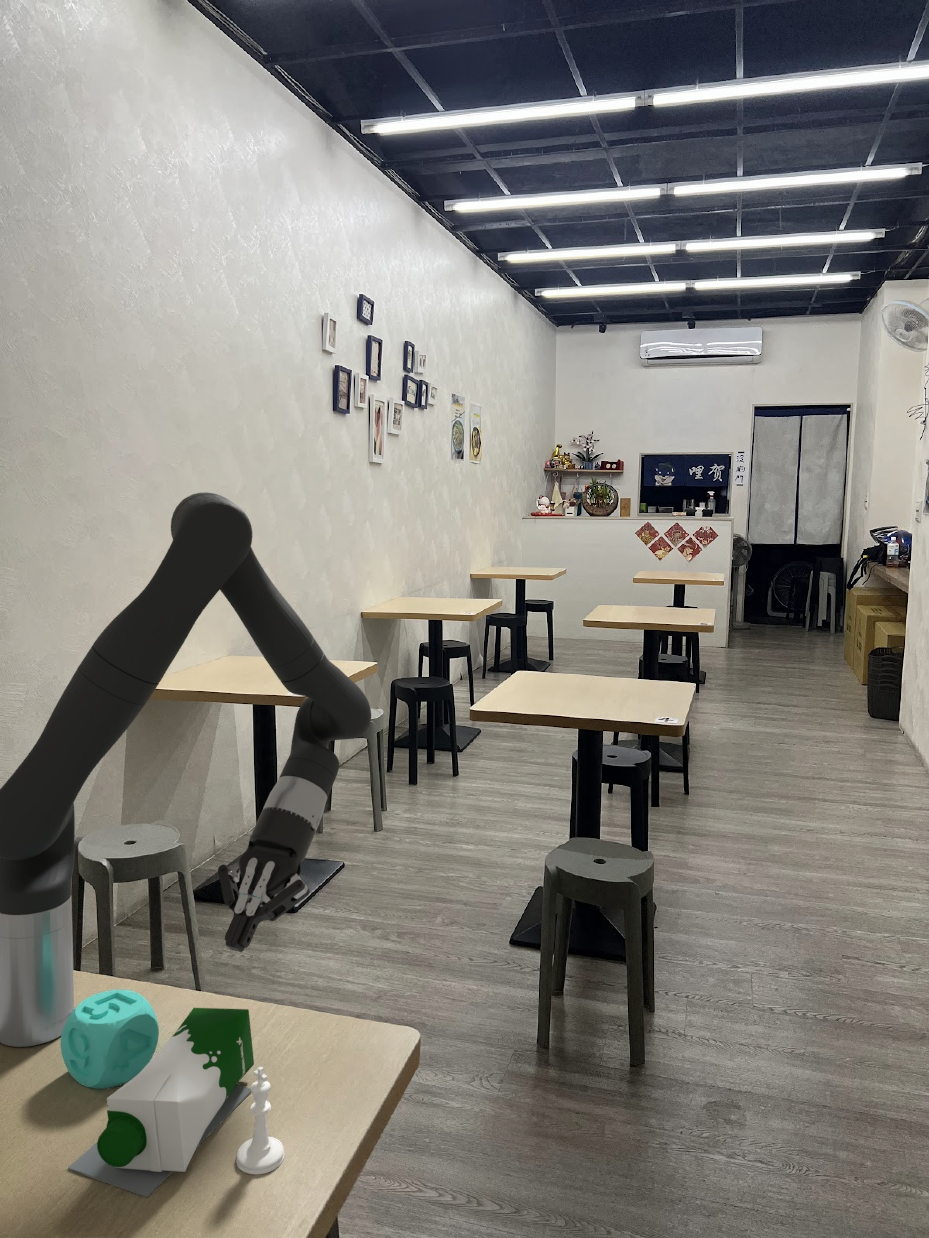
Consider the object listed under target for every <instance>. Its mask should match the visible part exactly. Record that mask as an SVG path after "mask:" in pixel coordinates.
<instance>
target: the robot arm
mask: <svg viewBox="0 0 929 1238" xmlns="http://www.w3.org/2000/svg"><path fill="white" fill-rule="evenodd" d="M170 534H171V537H172V541H171V544H170V546H169V547H168V549H167V552H166V553H165V555H164V557H163V559H162V561H161V563H160V564H159V566H158V568H157V569H156V571H155V573H154V574H153V576H152V577H151V579H150V581H148V583H147V585H146V586H145V587H144V589H143V590H142V591H141V592H140V593H139V595H137V596H136V597H135V598H134V599H133V600H132V601H131V602H130V603H129V604H128V605H127V606H126V607H124V609H122V610H121V611H120V612H119V613H118V615H116V616H115V617H114V618H113V619H112V620H111V622H109V624H108V625H107V626H106V627H105V628H104V629H103V630H102V632H101V633H100V634H99V635H98V636H97V638H96V640H95V641H94V642H93V644H92V645H91V647H90V648H89V650H88V651H87V652H86V654H85V656H84V658H83V659H82V661H81V662H80V664H79V665H78V666H77V668H76V671H75V672H73V676H72V677H71V679H70V681H69V683H68V684H67V685H66V687H65V689H64V690H63V692H62V694H61V695H60V698H59V699H58V701H57V703H56V705H55V707H54V709H53V711H52V712H51V714H50V717H49V718H48V720H47V723H46V724H45V726H44V728H43V730H42V732H41V734H40V736H39V738H38V739H37V741H36V743H35V744H34V745H33V747H32V748H31V749H30V751H29V753H28V754H27V755H26V756H25V758H24V759H23V761H21V763H20V764H19V766H18V767H17V768H16V770H15V771H14V772H13V774H12V775H11V776H10V777H9V778H8V779H7V780H6V781H5V783H4V784H3V785H2V786H1V788H0V1043H1V1044H2V1045H5V1046H9V1047H14V1048H15V1047H16V1048H21V1047H22V1048H23V1047H24V1048H26V1047H33V1046H38V1045H42V1044H44V1043H49V1042H51V1041H53V1040H55V1039H57V1038H59V1037H61V1035H62V1031H63V1028H64V1026H65V1023H66V1021H67V1019H68V1018H69V1016H70V1014H71V1013H72V1012H73V1010H74V1009H75V999H74V998H75V989H74V988H75V987H74V985H75V984H74V983H75V982H74V947H73V946H74V941H73V940H74V939H73V938H74V937H73V910H72V909H73V906H72V905H73V904H72V901H73V900H72V881H73V874H74V868H75V856H76V855H75V846H76V845H75V841H76V840H75V837H76V836H75V833H76V832H75V831H76V829H75V825H76V824H75V823H76V821H75V819H76V817H75V804H74V803H75V801H76V798H77V797H78V795H79V793H80V791H81V790H82V788H83V786H84V784H85V783H86V781H87V780H88V778H89V776H90V775H91V773H92V772H93V770H95V768H96V766H98V764H99V763H100V761H102V759H103V758H104V757H106V755H107V753H108V752H109V751H110V750H111V749H112V748H113V746H114V745H116V743H117V742H118V741H119V739H120V738H121V737H122V736H123V734H124V733H126V731H127V730H128V728H129V727H130V726H131V724H132V723H133V722H134V720H135V719H136V718H137V717H138V715H139V714H140V712H141V711H142V710H143V709H144V707H145V706H146V704H147V703H148V701H149V700H150V698H151V696H152V695H153V694H154V692H155V690H156V689H157V687H158V686H159V684H160V682H162V680H163V678H164V676H165V674H166V673H167V671H168V669H169V668H170V666H171V664H172V662H173V661H174V660H175V658H176V656H177V655H178V653H179V651H180V649H181V648H182V647H183V645H184V643H185V641H187V638H188V636H189V634H190V633H191V631H192V629H193V627H194V625H196V622H197V621H198V619H199V617H200V616H201V614H202V613H203V611H205V609H206V608H207V606H208V605H209V604H210V602H211V601H212V600H213V598H214V597H215V596H217V594H218V592H219V591H220V592H221V593H222V595H223V596H224V597H225V598H226V600H227V602H229V605H230V606H231V607H232V608H233V610H234V611H235V613H236V614H237V616H238V618H239V619H240V621H241V623H242V624H243V626H244V627H245V629H246V630H247V632H248V634H249V635H250V637H251V640H252V641H253V642H254V644H255V645H256V647H257V649H258V650H259V652H260V653H261V655H262V657H263V658H264V659H265V661H266V662H267V664H268V666H269V667H270V668H271V670H272V672H273V673H274V674H275V675H276V677H277V679H278V680H279V681H280V683H281V685H283V687H284V688H285V689H286V690H287V691H288V692H290V694H293V695H297V696H303V697H306V699H305V700H304V701H302V703H301V705H300V706H299V708H298V710H297V713H296V716H295V720H294V725H293V726H294V727H293V733H292V738H291V745H290V753H289V756H288V758H287V760H286V762H285V764H284V766H283V768H282V771H281V773H280V774H279V777H278V779H277V782H276V783H275V785H273V788H272V790H271V791H270V792H269V795H268V797H267V799H266V801H265V803H264V805H263V809H262V810H261V812H260V815H259V817H258V819H257V821H256V824H255V826H254V827H253V830H252V832H251V834H250V836H249V840H248V845H247V848H246V849H245V851H244V852H242V854H240V856H239V858H238V861H237V862H235V863H232V864H231V865H228V866H227V865H226V864H221V865H220V866H218V868H217V873H218V878H219V882H220V888H221V894H222V897H223V901H224V905H225V906H226V907H227V908H228V909H229V910H230V911H232V913H233V916H232V920H231V921H230V924H229V926H228V928H227V930H226V933H225V935H224V940H225V946H226V947H227V948H229V950H230V951H235V952H240V953H243V952H244V950H245V949H248V947H249V946H250V944H251V942H252V940H253V937H254V936H255V933H256V930H257V928H258V926H259V924H261V923H262V922H264V921H265V922H266V921H269V922H275V921H276V920H277V919H279V918H280V917H282V916H283V915H284V914H285V913H287V912H288V911H289V910H290V909H292V908H294V907H295V906H296V905H297V904H299V903H300V902H301V901H302V900H305V898H306V897H308V896H309V895H310V892H311V891H310V888H309V887H308V885H306V883H305V882H304V881H303V880H302V878H301V877H300V876H301V875H302V874H301V873H302V867H301V866H302V862H304V861H305V858H306V856H307V854H308V851H309V848H310V846H311V844H312V842H313V840H314V837H315V834H316V832H317V829H318V827H319V826H320V824H321V819H322V817H323V815H324V811H325V808H326V802H327V801H328V799H329V795H330V793H331V791H332V788H333V785H334V783H335V781H336V778H337V775H338V772H339V769H340V761H339V758H338V755H336V753H335V752H334V751H332V750H330V748H328V745H329V744H330V742H331V741H340V740H341V741H342V740H352V739H356V738H359V737H361V736H363V735H364V734H366V732H367V731H368V729H369V727H370V725H371V722H372V708H371V706H370V705H371V704H370V703H369V700H368V698H367V696H366V695H365V693H364V692H363V690H362V689H361V688H360V687H359V686H358V685H357V684H356V683H355V682H354V681H353V680H352V679H351V678H350V677H348V675H346V674H345V673H344V672H343V670H341V669H340V668H339V667H338V666H336V665H335V664H334V663H333V662H332V661H330V660H329V659H328V657H327V656H326V654H325V652H324V651H323V649H322V648H321V647H320V645H319V643H318V642H317V640H316V639H315V637H314V636H313V634H312V632H311V631H310V630H309V629H308V627H307V626H306V624H305V623H304V621H303V620H302V619H301V617H300V616H299V615H298V613H297V612H296V611H295V610H294V608H293V607H292V606H291V604H290V603H289V602H288V601H287V600H286V598H285V597H284V596H283V594H282V593H281V592H280V591H279V590H278V587H276V586H275V584H274V583H273V581H272V580H271V578H270V577H269V575H268V574H267V573H266V571H265V569H264V567H263V566H262V564H261V562H260V561H259V559H258V558H257V555H256V554H255V552H254V550H253V548H252V543H253V527H252V524H251V521H250V519H249V517H248V515H247V514H246V513H245V512H244V510H243V509H242V508H241V507H240V506H238V505H237V504H236V503H234V502H233V501H231V499H229V498H227V497H225V496H223V495H221V494H218V493H213V492H207V491H206V492H197V493H196V492H195V493H193V494H190V495H188V496H186V497H185V498H183V499H182V500H181V501H180V502H179V503H178V504H177V505H176V507H175V509H174V511H173V513H172V517H171V520H170ZM240 877H241V878H240ZM240 879H241V884H240V886H239V887H240V888H238V884H237V883H239V882H240Z"/></svg>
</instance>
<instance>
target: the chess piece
mask: <svg viewBox="0 0 929 1238" xmlns="http://www.w3.org/2000/svg"><path fill="white" fill-rule="evenodd" d="M264 1069H265V1068H264V1067H263V1066H258V1067H257V1069H256V1070H254V1071H253V1076H254V1077H255V1078H257V1080H256V1081H254V1082H253V1083H252V1084H251V1085H250V1088H251V1094H252V1097H253V1100H254V1102H253V1103H251V1105H250V1108H249V1111H250V1113H251V1114H252V1115H255V1118H254V1120H255V1121H254V1127H253V1135H252V1138H250V1139H248V1140H246V1141H245V1142H243V1143H242V1144H241V1145H240V1146H239V1147H238V1150H237V1153H236V1159H235V1161H236V1162H235V1163H236V1166H237V1168H238V1169H239V1170H240V1171H242V1172H243V1173H245V1174H247V1175H248V1174H249V1175H255V1176H256V1175H264V1174H267V1173H270V1172H272V1171H274V1170H276V1169H277V1168H278V1167H280V1165H281V1164H282V1163H283V1162H284V1159H285V1148H284V1144H283V1143H282V1142H281V1141H280V1140H279V1139H277V1138H276V1137H273V1136H269V1132H268V1126H267V1124H268V1123H267V1116H266V1114H268V1113H269V1112H271V1109H272V1105H271V1103H270V1101H268V1100H267V1099H268V1096H269V1092H270V1090H271V1083H270V1082H269V1081H268V1075H266V1074H265V1070H264Z"/></svg>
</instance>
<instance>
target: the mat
mask: <svg viewBox="0 0 929 1238" xmlns="http://www.w3.org/2000/svg"><path fill="white" fill-rule="evenodd" d="M250 1094H252V1092H251V1087H247V1086H244V1085H239V1084H237V1085H236V1086H235V1088H234V1089H233V1090H232V1092H231V1093H230V1095H229V1096H228V1098H227V1099H226V1100H225V1102H224V1103H223V1105H222V1106H221V1108H220V1109H219V1111H218V1112H217V1113H216V1115H215V1116H214V1118H213V1119H212V1121H211V1122H210V1124H209V1125H208V1126H207V1128H206V1129H205V1131H204V1133H203V1135H202V1137H201V1139H200V1141H199V1143H198V1145H197V1148H198V1147H199V1146H200V1145H201V1144H202V1143H203V1142H204V1141H205V1140H206V1139H207V1138H208V1137H209V1136H210V1135H211V1134H212V1133H213V1132H214V1131H215V1130H216V1129H217V1128H218V1127H219V1126H220V1125H221V1123H223V1121H224V1120H225V1119H226V1118H228V1117H229V1116H230V1115H231V1113H232V1112H234V1110H236V1108H237V1107H239V1105H240V1104H242V1102H243V1101H245V1099H246V1098H247V1097H248V1096H249V1095H250ZM67 1170H69V1171H70V1172H71V1171H72V1172H74V1173H77V1174H80V1175H83V1176H85V1177H89V1178H91V1179H94V1180H95V1181H96V1180H97V1181H99V1182H103V1183H105V1184H107V1185H108V1184H109V1185H111V1186H114V1187H116V1188H120V1189H123V1190H125V1191H128V1192H130V1193H132V1194H136V1195H139V1196H141V1197H144V1198H149V1197H150V1196H151V1195H152V1194H153V1193H154V1192H155V1191H156V1190H157V1189H158V1188H159V1186H161V1185H162V1183H164V1182H165V1180H167V1178H169V1176H170V1175H171V1174H172V1173H174V1171H165V1170H163V1171H162V1172H154V1171H150V1170H137V1169H125V1168H115V1167H113V1166H111V1165H109V1164H107V1163H106V1162H105V1161H104V1160H103V1159H102V1158H101V1157H100V1155H99V1153H98V1149H97V1142H96V1143H94V1144H93V1145H91V1146H90V1148H89V1149H87V1150H86V1151H85V1152H84V1153H83V1154H82V1155H80V1156H79V1157H78V1158H77V1159H76V1160H74V1161H73V1162H72V1163H71V1164H70V1165H69V1166H68V1167H67Z"/></svg>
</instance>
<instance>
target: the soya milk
mask: <svg viewBox="0 0 929 1238" xmlns="http://www.w3.org/2000/svg"><path fill="white" fill-rule="evenodd" d="M253 1050H254V1049H253V1039H252V1029H251V1019H250V1010H249V1008H247V1009H246V1008H222V1007H221V1008H219V1007H218V1008H217V1007H216V1008H215V1007H192V1010H191V1011H190V1012H189V1013H188V1015H187V1016H186V1018H185V1019H184V1021H182V1023H181V1025H180V1026H179V1027H178V1028H177V1029H176V1031H175V1032H174V1034H172V1036H171V1037H170V1038H169V1039H168V1041H166V1043H165V1044H164V1045H163V1046H162V1047H161V1048H160V1049H159V1050H158V1052H156V1054H155V1055H153V1056H152V1058H151V1060H150V1062H149V1063H148V1064H147V1065H146V1066H145V1067H144V1069H143V1070H142V1071H141V1072H140V1073H139V1074H138V1075H137V1076H135V1077H134V1078H133V1079H131V1080H130V1081H128V1082H126V1083H124V1084H123V1085H121V1087H119V1088H118V1089H117V1090H116V1091H115V1092H113V1093H112V1094H111V1095H109V1096H107V1098H106V1104H107V1110H106V1113H107V1123H106V1127H105V1129H104V1130H103V1131H102V1132H101V1134H100V1135H99V1137H98V1139H97V1142H96V1143H97V1149H98V1153H99V1155H100V1157H101V1158H102V1159H103V1160H104V1161H105V1162H106V1163H107V1164H109V1165H111V1166H113V1167H115V1168H125V1169H137V1170H150V1171H154V1172H162V1171H163V1170H165V1171H173V1172H181V1173H182V1172H183V1173H184V1172H185V1173H186V1171H187V1168H188V1166H189V1164H190V1161H191V1159H192V1158H193V1156H194V1153H195V1152H196V1149H197V1148H198V1147H197V1145H198V1143H199V1141H200V1139H201V1137H202V1135H203V1133H204V1131H205V1129H206V1128H207V1126H208V1125H209V1124H210V1122H211V1121H212V1119H213V1118H214V1116H215V1115H216V1113H217V1112H218V1111H219V1109H220V1108H221V1106H222V1105H223V1103H224V1102H225V1100H226V1099H227V1098H228V1096H229V1095H230V1093H231V1092H232V1090H233V1089H234V1088H235V1086H236V1085H238V1084H239V1082H240V1081H241V1080H242V1078H244V1077H245V1075H246V1074H247V1073H248V1072H249V1071H250V1069H251V1068H252V1067H253V1066H254V1065H255V1060H254V1051H253Z"/></svg>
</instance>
